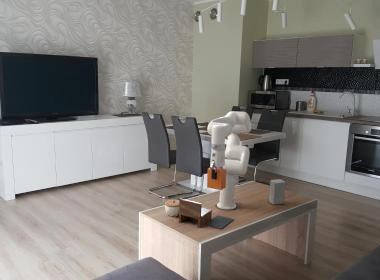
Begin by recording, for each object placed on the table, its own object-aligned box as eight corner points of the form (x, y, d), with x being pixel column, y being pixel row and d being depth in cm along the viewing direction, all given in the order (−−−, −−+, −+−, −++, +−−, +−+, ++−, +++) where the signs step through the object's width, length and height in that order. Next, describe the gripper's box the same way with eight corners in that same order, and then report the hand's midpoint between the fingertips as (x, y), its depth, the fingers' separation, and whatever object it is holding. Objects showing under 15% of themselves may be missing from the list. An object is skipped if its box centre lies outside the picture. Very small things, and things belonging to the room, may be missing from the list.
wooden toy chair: (191, 214, 222) (191, 192, 220) (211, 219, 215) (212, 197, 212) (178, 221, 210) (179, 198, 208) (199, 227, 203) (200, 203, 201)
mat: (218, 216, 220) (218, 215, 220) (233, 219, 215) (233, 219, 215) (205, 225, 207) (205, 224, 207) (221, 229, 202) (221, 228, 202)
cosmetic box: (278, 200, 251) (280, 178, 248) (284, 204, 244) (286, 181, 241) (268, 201, 248) (269, 179, 245) (273, 205, 241) (275, 182, 238)
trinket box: (178, 210, 228) (179, 196, 226) (184, 216, 218) (185, 201, 217) (162, 212, 224) (162, 197, 223) (167, 218, 214) (168, 203, 213)
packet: (211, 184, 213) (212, 166, 211) (225, 187, 208) (226, 169, 206) (206, 187, 208) (207, 168, 206) (221, 190, 203) (221, 171, 201)
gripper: (216, 150, 194) (215, 182, 198) (230, 145, 209) (229, 175, 212) (204, 148, 198) (203, 180, 202) (219, 143, 213) (217, 173, 216)
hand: (216, 177), depth 207 cm, fingers closed on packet, 6 cm apart
